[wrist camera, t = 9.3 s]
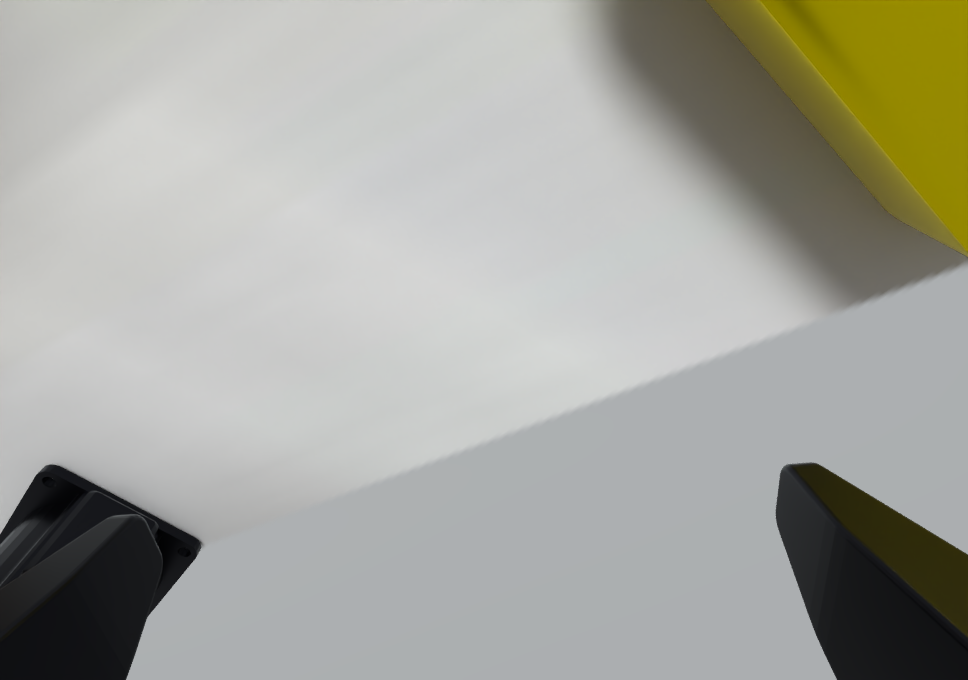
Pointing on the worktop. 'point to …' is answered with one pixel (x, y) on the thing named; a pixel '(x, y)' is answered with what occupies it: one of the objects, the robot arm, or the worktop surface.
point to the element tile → (877, 94)
